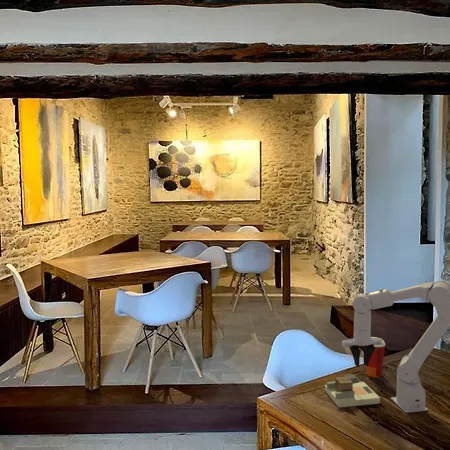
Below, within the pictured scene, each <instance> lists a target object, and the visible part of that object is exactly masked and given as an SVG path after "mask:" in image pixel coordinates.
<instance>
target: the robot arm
mask: <svg viewBox="0 0 450 450" xmlns="http://www.w3.org/2000/svg"><path fill="white" fill-rule="evenodd" d="M414 298H415V299H416V298H419V299H421V300H423V301H425V302H427V301H428V300H429V302H430V303H431V304H432V305H433V307H434V308H435V311H436V314H437V315H436V317H435V318H434V319H433V321H432V322H431V323H430V325H429V326H428V327H427V329H426V331H425V332H424V333H423V335H422V336H421V338H420V339H419V340H418V342H417V343H416V344H415V346H414V348H412V349H411V350H410V352H409V353H408V354H406V355H404V356H403V357H402V358H401V360H400V363H399V365H398V366H397V368H396V394H395V395H396V396H393V397H390V400H392V402H394V403H395V404H396V405H397V406H398V407H399V408H400V409H401V410H403V412H404V413H407V414H408V413H415V412H425V411H428V409H429V408H427V407H426V397H427V394H426V393H427V392H426V390H425V388H424V387H423V386H422V384H421V377H420V376H419V374H418V373H419V370H420V369H421V367H422V366H423V363H424V362H425V360H426V359H427V358H428V356H429V355H430V354H431V352H432V351H433V349H434V348H435V346H436V345H437V344H438V343H439V341H440V340H441V338H442V337H443V336H444V334H445V333H446V332H447V330H448V329H449V328H450V284H449V283H448V282H446V281H444V280H438V281H435V282H434V281H431V282H430V281H429V282H425V283H420V284H416V285H413V286H410V287H405V288H401V289H397V290H394V291H392V290H389V289H387V288H386V289H384V288H383V287H382V288H379V289H378V291H377V290H376V291H372V292H369V291H366V292H365V293H361V294H358V295H357V296H356V297H355V298H354V299H353V301H352V307H353V309H354V313H353V314H354V315H353V338H349V339H343V340H341V347H342V348H344V349H346V348H349V350H350V352H351V355H352V358H353V361H354V366H355V367H360V359H361V352H362V349H363V365H364V366H365V367H366V366H368V364H369V361H370V358H371V356H372V354H373V353H374V351H375V347H374V345H378V344H379V345H382V339H383V338H381V339H380V337H377V338H371V337H372V333H371V330H372V329H371V327H372V326H371V325H372V311H371V310H377V309H382V308H386V307H391V306H393V305H394V303H395V302H396V301H398V302H399V301H403V300H409V299H414ZM360 347H362V349H360Z"/></svg>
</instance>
